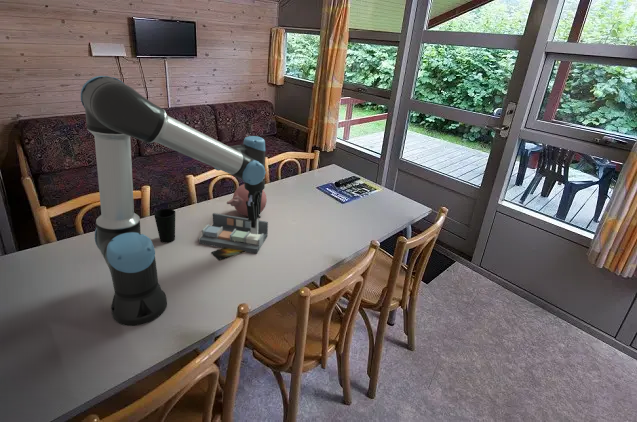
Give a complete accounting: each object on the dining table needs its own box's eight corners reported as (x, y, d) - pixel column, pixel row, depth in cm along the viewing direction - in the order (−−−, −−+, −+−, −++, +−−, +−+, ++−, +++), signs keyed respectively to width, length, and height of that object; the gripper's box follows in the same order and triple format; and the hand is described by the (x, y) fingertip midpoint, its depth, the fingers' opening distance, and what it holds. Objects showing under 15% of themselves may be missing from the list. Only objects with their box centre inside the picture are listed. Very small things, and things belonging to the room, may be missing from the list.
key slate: (215, 237, 146) (215, 233, 145) (204, 235, 147) (204, 231, 146) (220, 231, 150) (220, 227, 149) (209, 229, 151) (209, 225, 150)
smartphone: (210, 252, 140) (243, 240, 149) (210, 253, 140) (244, 242, 150) (219, 260, 135) (253, 248, 145) (219, 262, 136) (253, 249, 145)
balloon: (217, 214, 168) (216, 184, 161) (253, 204, 181) (254, 175, 174) (235, 228, 158) (235, 196, 151) (272, 216, 171) (273, 186, 164)
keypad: (257, 253, 142) (257, 238, 139) (199, 243, 145) (198, 228, 142) (267, 236, 155) (268, 221, 152) (214, 227, 157) (213, 212, 154)
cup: (170, 246, 141) (168, 218, 136) (153, 242, 143) (149, 215, 137) (181, 236, 148) (179, 210, 143) (164, 233, 149) (161, 207, 144)
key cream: (257, 244, 144) (257, 240, 143) (245, 242, 145) (245, 238, 144) (261, 238, 148) (261, 234, 148) (249, 236, 149) (249, 232, 148)
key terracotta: (229, 242, 146) (229, 238, 145) (218, 240, 146) (218, 236, 146) (234, 236, 150) (234, 232, 149) (223, 234, 151) (223, 230, 150)
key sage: (243, 242, 145) (243, 237, 144) (232, 240, 145) (232, 236, 144) (247, 236, 149) (247, 232, 148) (236, 234, 150) (236, 230, 149)
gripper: (258, 186, 128) (258, 242, 139) (269, 173, 140) (268, 226, 151) (238, 183, 129) (239, 239, 140) (250, 171, 141) (250, 224, 151)
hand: (254, 233), depth 145 cm, fingers closed
